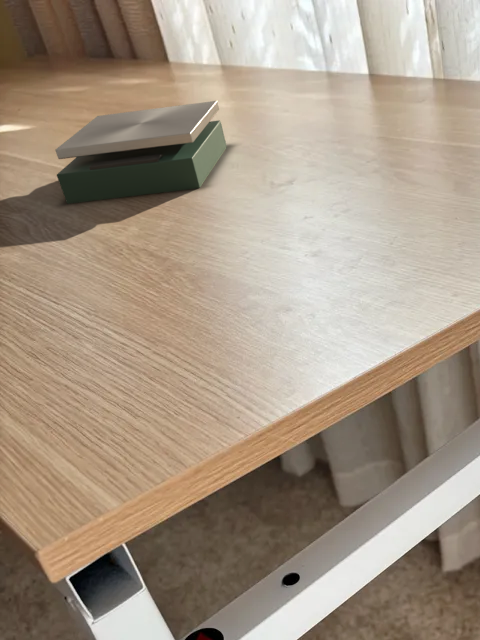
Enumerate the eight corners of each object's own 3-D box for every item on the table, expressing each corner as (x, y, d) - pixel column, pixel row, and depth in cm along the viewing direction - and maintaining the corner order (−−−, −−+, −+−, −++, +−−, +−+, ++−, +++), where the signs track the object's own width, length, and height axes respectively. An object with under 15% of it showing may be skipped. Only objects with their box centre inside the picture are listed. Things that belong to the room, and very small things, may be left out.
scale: (66, 204, 71) (54, 171, 70) (110, 162, 81) (100, 132, 80) (200, 188, 70) (191, 154, 69) (227, 147, 80) (220, 117, 78)
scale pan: (58, 159, 70) (54, 149, 70) (99, 124, 80) (97, 115, 79) (193, 142, 69) (190, 132, 69) (219, 109, 79) (217, 100, 78)
